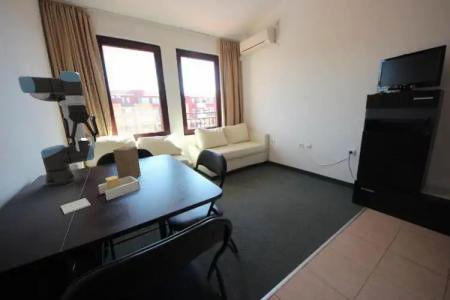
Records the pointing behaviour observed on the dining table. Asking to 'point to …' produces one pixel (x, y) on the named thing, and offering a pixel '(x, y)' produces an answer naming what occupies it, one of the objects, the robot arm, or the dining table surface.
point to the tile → (75, 206)
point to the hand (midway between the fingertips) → (86, 149)
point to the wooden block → (127, 162)
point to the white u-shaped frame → (120, 187)
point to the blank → (112, 182)
